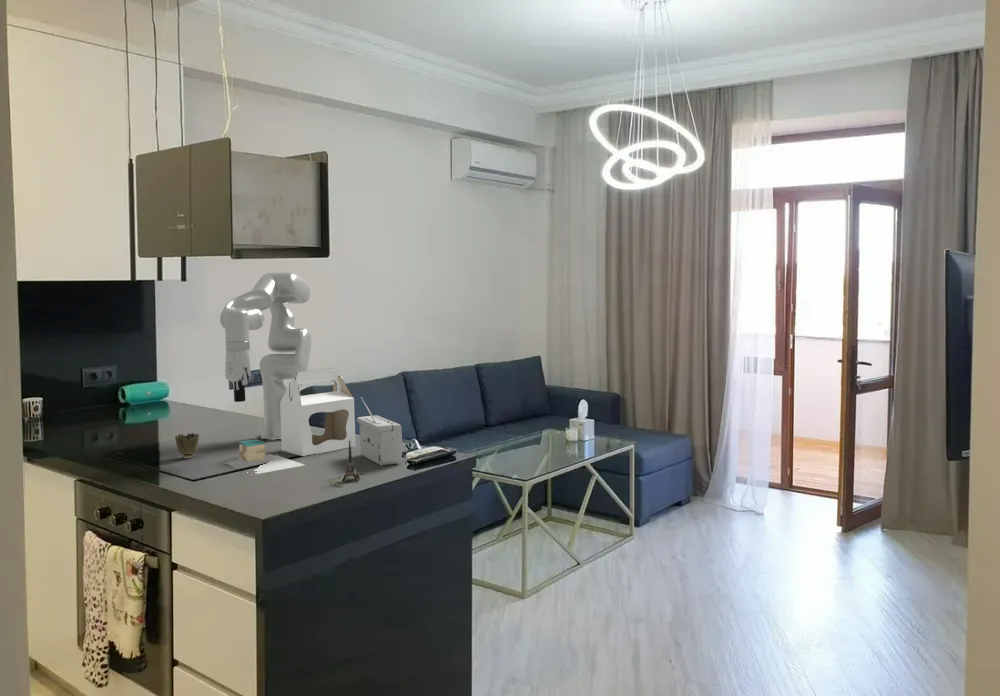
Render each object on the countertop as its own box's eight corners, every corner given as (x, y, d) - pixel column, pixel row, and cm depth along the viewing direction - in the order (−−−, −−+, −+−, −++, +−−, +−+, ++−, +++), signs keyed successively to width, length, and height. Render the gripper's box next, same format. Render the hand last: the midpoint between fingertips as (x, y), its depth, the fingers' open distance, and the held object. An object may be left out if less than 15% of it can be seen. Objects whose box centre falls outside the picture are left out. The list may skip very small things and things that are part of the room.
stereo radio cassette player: (403, 464, 255) (402, 402, 253) (379, 467, 251) (377, 404, 249) (379, 452, 273) (378, 394, 271) (356, 455, 269) (355, 396, 267)
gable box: (334, 441, 292) (332, 365, 290) (356, 446, 283) (354, 368, 281) (280, 451, 276) (277, 371, 274) (302, 457, 267) (299, 374, 265)
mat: (219, 462, 260) (219, 461, 260) (271, 454, 272) (271, 453, 272) (252, 475, 242) (252, 474, 242) (305, 465, 254) (305, 465, 254)
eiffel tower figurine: (359, 473, 245) (358, 431, 244) (380, 479, 239) (379, 435, 237) (319, 483, 234) (317, 438, 233) (340, 489, 227) (339, 443, 226)
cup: (199, 455, 272) (198, 432, 271) (201, 459, 265) (199, 435, 265) (175, 457, 269) (174, 434, 268) (176, 461, 262) (175, 438, 261)
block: (240, 459, 262) (239, 442, 262) (257, 457, 266) (256, 439, 266) (248, 462, 258) (247, 444, 257) (265, 459, 262) (264, 442, 261)
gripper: (217, 346, 268) (219, 400, 269) (236, 348, 257) (238, 405, 258) (238, 344, 273) (241, 397, 274) (258, 347, 262) (260, 402, 263)
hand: (239, 401), depth 266 cm, fingers closed
